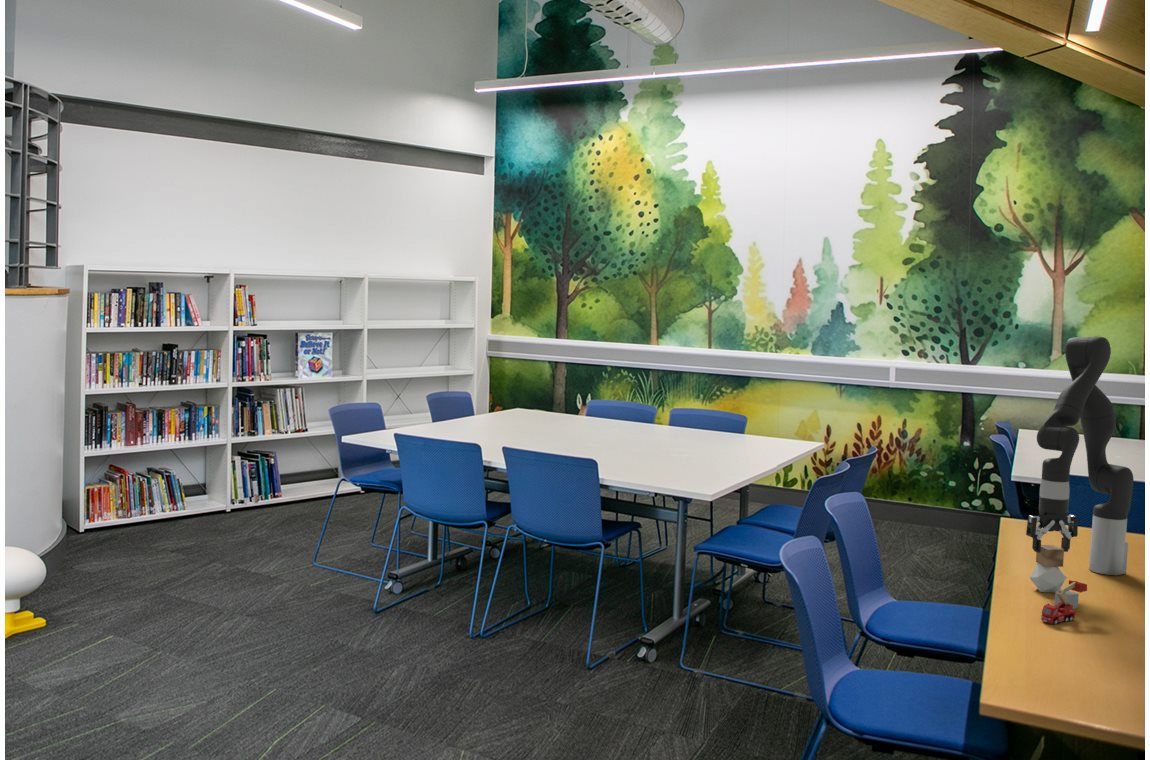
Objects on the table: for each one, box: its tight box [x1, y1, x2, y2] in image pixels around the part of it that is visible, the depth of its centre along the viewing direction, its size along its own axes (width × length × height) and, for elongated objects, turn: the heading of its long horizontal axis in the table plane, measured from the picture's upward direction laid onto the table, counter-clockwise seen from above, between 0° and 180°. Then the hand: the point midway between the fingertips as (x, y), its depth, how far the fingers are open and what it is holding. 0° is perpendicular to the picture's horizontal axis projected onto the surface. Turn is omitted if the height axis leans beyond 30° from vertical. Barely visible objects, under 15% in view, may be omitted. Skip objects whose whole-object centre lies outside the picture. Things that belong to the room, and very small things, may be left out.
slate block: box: [1054, 590, 1079, 610], centre depth 255 cm, size 4×4×4 cm
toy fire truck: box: [1040, 579, 1088, 625], centre depth 244 cm, size 3×14×10 cm, turn 118°
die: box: [1029, 562, 1068, 593], centre depth 269 cm, size 8×9×10 cm
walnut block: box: [1035, 544, 1065, 568], centre depth 269 cm, size 5×5×5 cm
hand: (1050, 551), depth 268 cm, fingers open, 8 cm apart
